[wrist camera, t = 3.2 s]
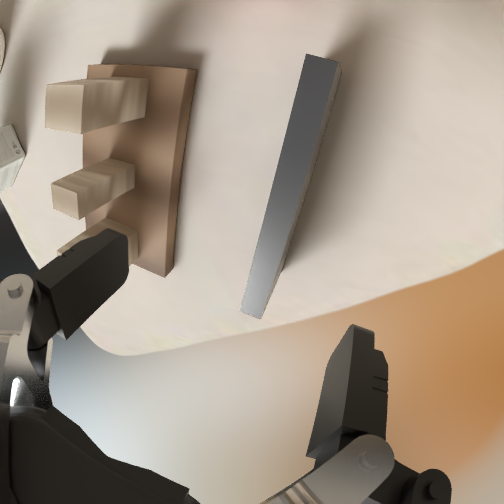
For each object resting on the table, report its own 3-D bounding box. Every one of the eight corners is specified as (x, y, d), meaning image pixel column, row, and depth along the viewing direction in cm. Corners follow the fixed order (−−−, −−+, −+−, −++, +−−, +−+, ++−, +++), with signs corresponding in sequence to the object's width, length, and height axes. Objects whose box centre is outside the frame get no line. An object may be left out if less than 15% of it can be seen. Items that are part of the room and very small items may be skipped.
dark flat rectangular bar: (319, 65, 16) (306, 53, 11) (341, 72, 16) (338, 62, 11) (264, 265, 25) (239, 311, 20) (281, 271, 25) (260, 319, 20)
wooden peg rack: (100, 64, 20) (26, 72, 13) (197, 69, 18) (123, 68, 12) (96, 236, 30) (44, 274, 23) (172, 269, 28) (123, 322, 22)
